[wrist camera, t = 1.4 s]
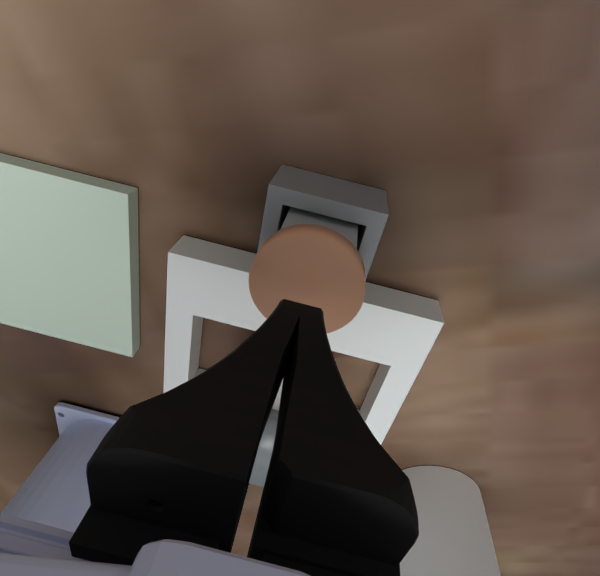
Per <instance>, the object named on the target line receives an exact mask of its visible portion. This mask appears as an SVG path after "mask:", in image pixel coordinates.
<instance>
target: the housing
mask: <svg viewBox="0 0 600 576" xmlns="http://www.w3.org/2000/svg"><path fill="white" fill-rule="evenodd" d="M289 206H290V207H294V208H298V209H302V210H306V211H310V212H314V213H318V214H322V215H325V216H329V217H333V218H337V219H341V220H345V221H349V222H353V223H357V224H360V225H359V228H358V235H357V250H358V252H359V254H360V256H361V257H362V260H363V263H364V267H365V281H366V278H367V275H368V272H369V269H370V266H371V264H372V261H373V258H374V255H375V252H376V250H377V247H378V244H379V241H380V238H381V236H382V233H383V230H384V227H385V224H386V221H387V219H388V216H389V212H388V203H387V193H386V190H382V189H378V188H374V187H370V186H366V185H362V184H358V183H354V182H350V181H346V180H342V179H338V178H335V177H331V176H327V175H323V174H319V173H315V172H311V171H307V170H303V169H299V168H295V167H291V166H287V165H284V164H282V165H281V166H280V168H279V169H278V171H277V172H276V174H275V175H274V177H273V178H272V180H271V181H270V183H269V185H268V191H267V197H266V203H265V209H264V214H263V220H262V226H261V232H260V238H259V244H258V250H257V253H258V251H259V250H260V248H261V246H262V245H263V243H264V242H265V241H266V240H267V239H268V238H269V237H270V236H271V235H272V234H274V233H276V232H277V231H279V230H280V229H281V227H282V225H283V223H284V221H285V218H286V216H287V212H288V207H289ZM256 255H257V254H255V253H251V252H247V251H243V250H240V249H236V248H232V247H228V246H224V245H220V244H216V243H212V242H208V241H204V240H201V239H197V238H193V237H189V236H185V235H183V236H182V237H181V238H180V239H179V241H178V242H177V243H176V244H175V245H174V246H173V247H172V248H171V249H170V250H169V251H168V265H167V297H166V328H165V359H164V390H163V393H165V392H167V391H169V390H171V389H173V388H175V387H177V386H179V385H181V384H183V383H185V382H187V381H189V380H191V379H193V378H194V377H196V376H198V375H199V374H201V373H203V372H204V371H206V370H205V369H201V368H199V357H200V347H201V337H202V326H203V318H207V319H211V320H215V321H219V322H222V323H226V324H230V325H234V326H238V327H242V328H246V329H250V330H253V331H256V330H257V329H258V328H259V327H260V326H261V325H262V324H263V323H264V322H265V321H266V320H267V319H266V318H265V317H264V316H263V315H262V314H261V312H260V311H259V310H258V308H257V307H256V306H255V304H254V302H253V300H252V297H251V294H250V290H249V282H248V280H249V272H250V268H251V266H252V263H253V261H254V259H255V257H256ZM443 324H444V321H443V317H442V313H441V309H440V305H439V301H438V300H434V299H430V298H426V297H422V296H419V295H415V294H411V293H407V292H403V291H399V290H395V289H391V288H387V287H384V286H380V285H376V284H372V283H368V282H365V297H364V301H363V304H362V306H361V309H360V310H359V312H358V314H357V315H356V316H355V317H354V318H353V320H352V321H350V322H349V323H348V324H347V325H345V326H344V327H342V328H340V329H338V330H336V331H334V332H331V333H327V337H328V341H329V344H330V347H331V351H335V352H338V353H342V354H346V355H350V356H354V357H358V358H362V359H366V360H369V361H373V362H377V363H380V365H379V367H378V370H377V372H376V374H375V376H374V379H373V381H372V383H371V386H370V388H369V390H368V392H367V395H366V397H365V399H364V402H363V404H362V406H361V408H360V410H359V409H357V410H358V412H359V413H360V415H361V417H362V418H363V420H364V421H365V423H366V424H367V426H368V427H369V429H370V430H371V432H372V433H373V435H374V437H375V438H376V439H377V441H378V442H379V443H380V445H381V444H382V442H383V440H384V438H385V436H386V434H387V432H388V430H389V428H390V426H391V424H392V423H393V421H394V419H395V417H396V415H397V413H398V411H399V409H400V407H401V405H402V403H403V401H404V399H405V397H406V396H407V394H408V392H409V390H410V388H411V386H412V384H413V382H414V380H415V378H416V376H417V374H418V372H419V371H420V369H421V367H422V365H423V363H424V361H425V359H426V357H427V355H428V353H429V351H430V349H431V347H432V345H433V344H434V342H435V340H436V338H437V336H438V334H439V332H440V330H441V328H442V326H443Z"/></svg>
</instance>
